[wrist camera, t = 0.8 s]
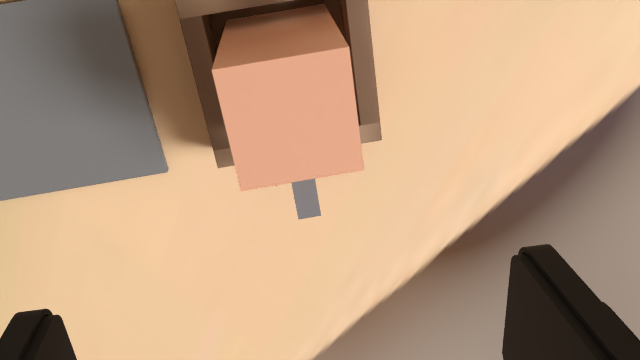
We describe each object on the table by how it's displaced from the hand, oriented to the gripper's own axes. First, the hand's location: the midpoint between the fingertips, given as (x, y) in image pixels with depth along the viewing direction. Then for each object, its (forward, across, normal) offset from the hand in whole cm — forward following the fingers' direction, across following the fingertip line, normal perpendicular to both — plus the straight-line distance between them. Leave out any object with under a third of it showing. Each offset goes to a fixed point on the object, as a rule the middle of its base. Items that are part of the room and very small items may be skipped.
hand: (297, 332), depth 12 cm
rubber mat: (+26, +14, +2) cm, 30 cm away
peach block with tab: (+26, -1, +2) cm, 26 cm away
